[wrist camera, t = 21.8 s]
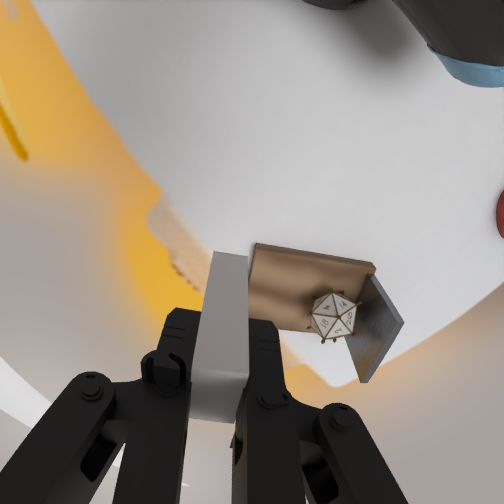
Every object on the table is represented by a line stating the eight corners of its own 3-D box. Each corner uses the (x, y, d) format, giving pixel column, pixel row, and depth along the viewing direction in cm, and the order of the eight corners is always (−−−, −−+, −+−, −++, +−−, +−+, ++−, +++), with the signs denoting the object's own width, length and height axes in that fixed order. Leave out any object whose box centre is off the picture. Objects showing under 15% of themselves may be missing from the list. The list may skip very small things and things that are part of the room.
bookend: (367, 273, 45) (397, 321, 34) (374, 274, 45) (404, 322, 34) (342, 331, 50) (360, 383, 39) (348, 331, 50) (367, 382, 40)
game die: (317, 280, 49) (326, 274, 40) (361, 301, 48) (379, 301, 38) (293, 327, 48) (297, 333, 39) (337, 349, 47) (351, 359, 37)
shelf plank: (256, 242, 44) (257, 249, 42) (371, 262, 46) (376, 268, 44) (240, 316, 50) (240, 324, 49) (343, 328, 52) (346, 335, 51)
